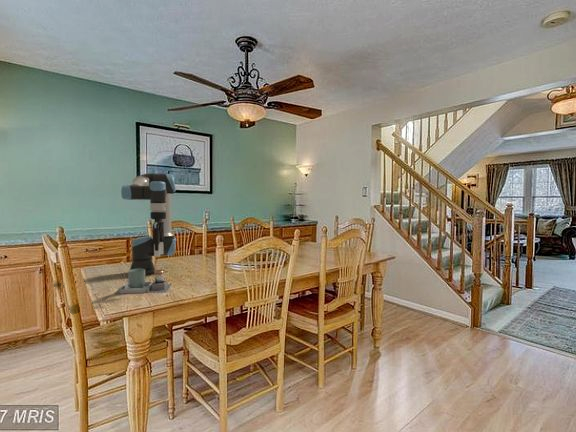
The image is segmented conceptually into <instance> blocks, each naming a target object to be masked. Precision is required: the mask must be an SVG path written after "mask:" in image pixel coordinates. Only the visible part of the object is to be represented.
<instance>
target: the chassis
mask: <svg viewBox="0 0 576 432" xmlns="http://www.w3.org/2000/svg"><path fill="white" fill-rule="evenodd" d="M172 285H173V283H168V280H163V283H155V280H154V281H145V285H144V287H143V288H135V289H131V288H130V287H129V282H126V283H124V284H123V285H122V286H121V287H119V288H118V289H117V295H130V294H131V295H134V294H135V295H136V294H137V295H138V294H162V293H163V294H164V293H167V292H168V291H169V289H170V288H171V287H172Z"/></svg>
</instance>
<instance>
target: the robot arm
mask: <svg viewBox="0 0 576 432" xmlns="http://www.w3.org/2000/svg"><path fill="white" fill-rule="evenodd" d="M176 189H177V188H176V183H175V178H174V175H173V174H171V173H143V174H140V175H137V176H136V177H134V178H133V180H132V183H131V184H130V185H128V184H127V185H122V186H121V191H120V193H121V198H122V199H123V200H129V201H132V200H137V201H138V200H139V201H140V200H143V201H148V200H149V202H150V203H149V204H150V205H149V210H150V213H149V214H150V220H154V222H153V223H152V236H151V235H149V236H148V235H147V236H141V237H140V236H139V237H136V238H133V240H132V242H131V252H132V253H131V260H132V261H131V264H130V268H129V270H131V269H145V276H146V275H151V274H154V271H156V267H155V264H154V262H153V257H154V258H160V257H163V256H166V257H167V256H173V255H174V254H175V250H176V244H177V238H176V237H175V235H174V234H173V231H172V197H173V196H174V193H175V192H176Z"/></svg>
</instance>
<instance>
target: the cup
mask: <svg viewBox="0 0 576 432" xmlns="http://www.w3.org/2000/svg"><path fill="white" fill-rule="evenodd" d="M127 273H128V274H127V275H128V276H127V280H128V282H129V287H130V288H131V289H135V288H143V287H144V285H145V282H146V275H145V269H131V270H130V269H129V270H127Z"/></svg>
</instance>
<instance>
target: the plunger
mask: <svg viewBox="0 0 576 432" xmlns="http://www.w3.org/2000/svg"><path fill="white" fill-rule="evenodd" d="M164 273H165V270H163V269H158V270H157V269H155V271H154V273H153V274H154V281H155V283H163V281H164Z"/></svg>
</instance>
